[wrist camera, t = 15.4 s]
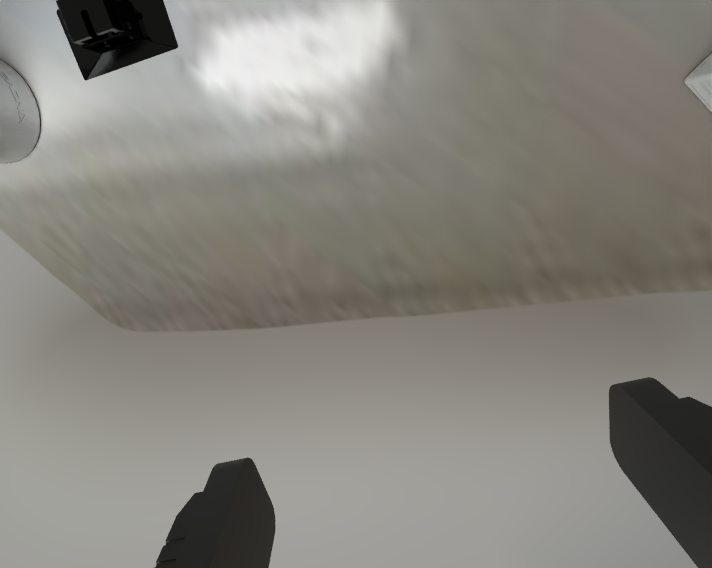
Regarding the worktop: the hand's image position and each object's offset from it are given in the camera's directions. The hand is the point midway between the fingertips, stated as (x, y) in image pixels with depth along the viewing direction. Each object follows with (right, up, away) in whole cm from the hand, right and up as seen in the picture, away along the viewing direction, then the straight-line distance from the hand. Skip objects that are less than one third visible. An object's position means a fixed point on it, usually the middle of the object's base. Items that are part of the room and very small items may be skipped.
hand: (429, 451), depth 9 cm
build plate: (-22, +26, +26) cm, 42 cm away
